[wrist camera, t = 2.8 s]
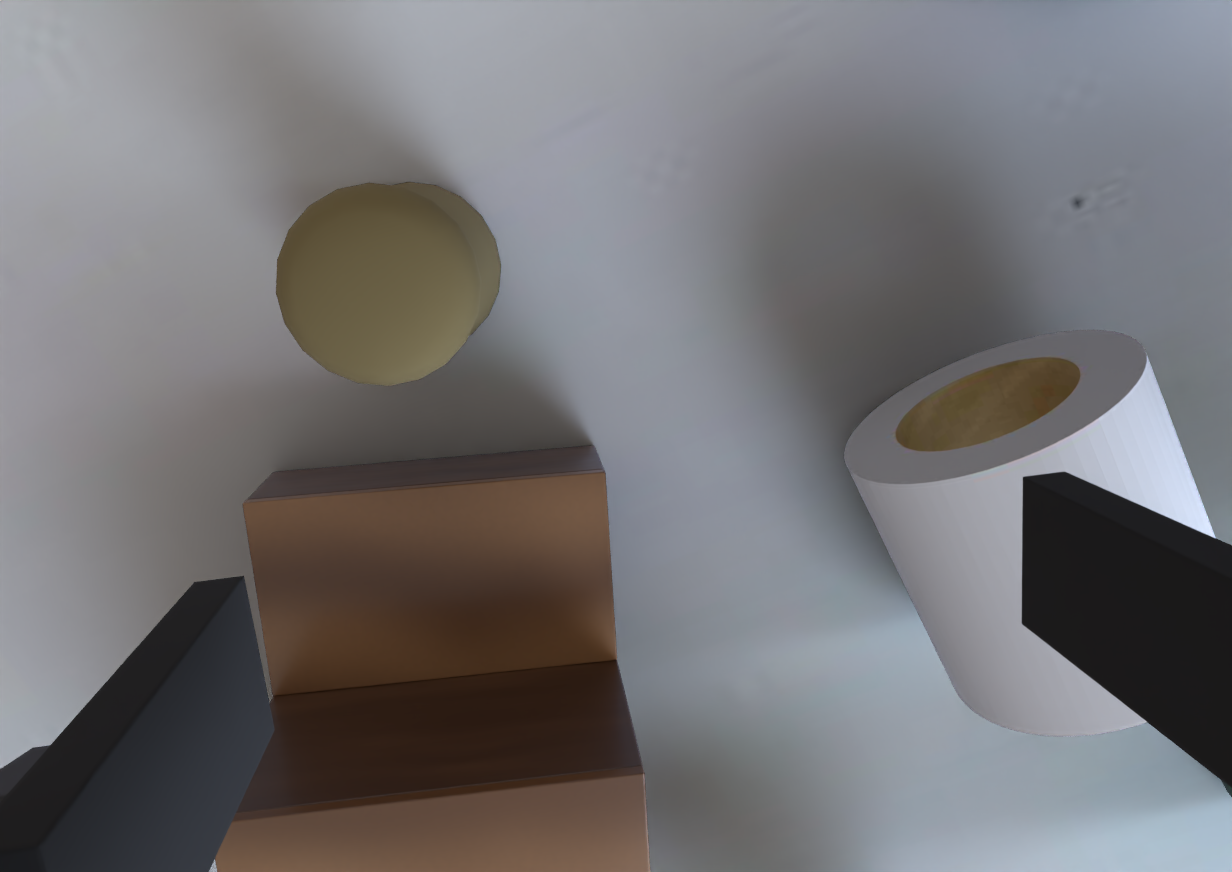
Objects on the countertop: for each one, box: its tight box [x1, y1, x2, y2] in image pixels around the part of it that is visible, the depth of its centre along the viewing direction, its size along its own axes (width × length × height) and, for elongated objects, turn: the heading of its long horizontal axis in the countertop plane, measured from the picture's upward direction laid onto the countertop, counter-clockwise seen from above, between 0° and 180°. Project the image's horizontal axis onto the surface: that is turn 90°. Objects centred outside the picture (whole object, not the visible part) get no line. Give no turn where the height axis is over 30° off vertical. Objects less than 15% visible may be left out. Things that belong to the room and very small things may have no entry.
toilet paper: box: [844, 330, 1215, 737], centre depth 33 cm, size 10×10×10 cm
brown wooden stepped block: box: [215, 445, 650, 872], centre depth 30 cm, size 18×12×15 cm, turn 3°
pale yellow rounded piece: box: [276, 182, 501, 386], centre depth 28 cm, size 6×6×11 cm
